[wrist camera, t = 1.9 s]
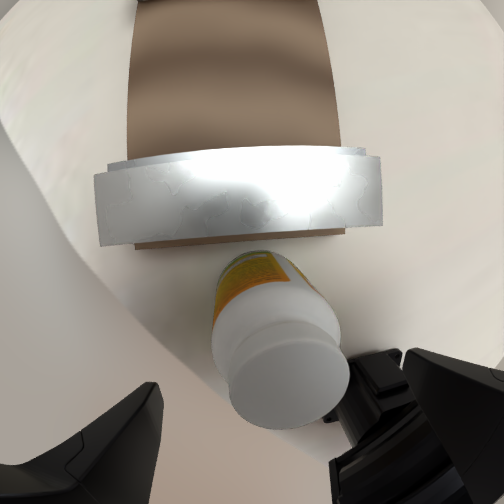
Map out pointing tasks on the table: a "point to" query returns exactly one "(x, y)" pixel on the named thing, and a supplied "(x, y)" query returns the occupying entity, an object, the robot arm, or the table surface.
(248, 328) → the supplement bottle
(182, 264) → the table surface
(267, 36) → the vise bed
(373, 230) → the table surface
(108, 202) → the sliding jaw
